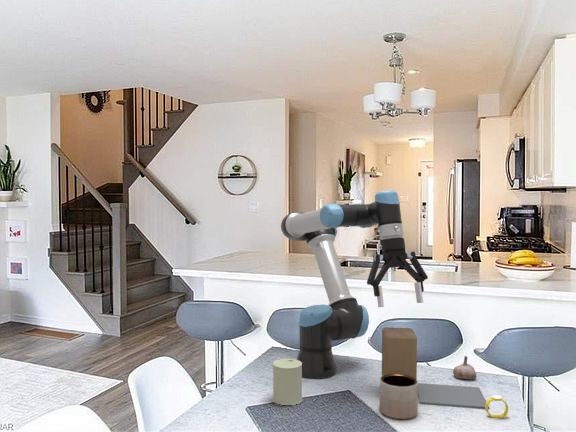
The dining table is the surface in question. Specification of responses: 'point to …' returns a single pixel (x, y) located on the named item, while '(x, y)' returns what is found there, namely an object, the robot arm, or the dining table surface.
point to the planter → (398, 396)
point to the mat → (451, 395)
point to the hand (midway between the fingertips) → (400, 305)
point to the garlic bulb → (464, 371)
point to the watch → (496, 398)
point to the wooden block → (399, 351)
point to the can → (287, 381)
